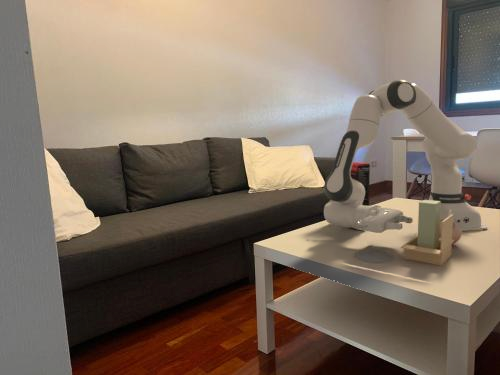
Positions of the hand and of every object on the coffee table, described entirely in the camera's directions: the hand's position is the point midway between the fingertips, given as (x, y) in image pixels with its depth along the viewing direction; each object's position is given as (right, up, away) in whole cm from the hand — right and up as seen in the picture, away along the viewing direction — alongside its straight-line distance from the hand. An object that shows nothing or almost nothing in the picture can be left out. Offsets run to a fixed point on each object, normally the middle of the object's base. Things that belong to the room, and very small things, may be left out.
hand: (406, 223), depth 130 cm
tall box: (+5, -10, -3) cm, 12 cm away
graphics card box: (-8, -5, +40) cm, 41 cm away
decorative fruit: (+18, -9, +9) cm, 22 cm away
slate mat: (-11, -11, -1) cm, 16 cm away
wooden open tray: (+6, -11, -3) cm, 12 cm away
